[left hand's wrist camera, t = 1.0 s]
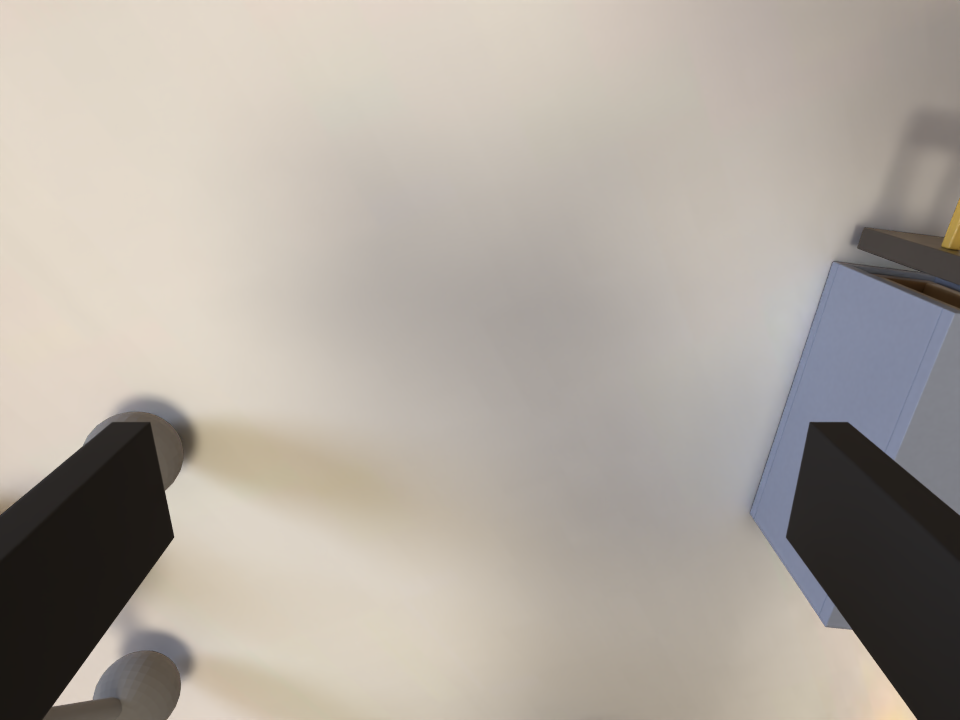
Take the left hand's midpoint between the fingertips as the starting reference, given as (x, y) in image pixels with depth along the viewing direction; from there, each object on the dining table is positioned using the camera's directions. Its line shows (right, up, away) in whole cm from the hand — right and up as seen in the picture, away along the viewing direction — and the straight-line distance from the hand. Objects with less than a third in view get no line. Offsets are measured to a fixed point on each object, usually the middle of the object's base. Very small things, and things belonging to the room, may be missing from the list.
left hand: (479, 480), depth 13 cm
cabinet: (+23, 0, +28) cm, 36 cm away
